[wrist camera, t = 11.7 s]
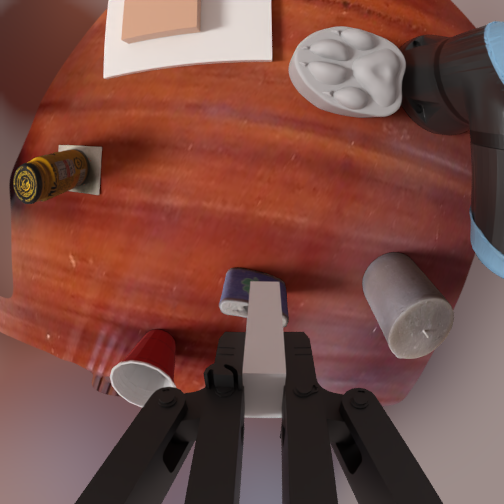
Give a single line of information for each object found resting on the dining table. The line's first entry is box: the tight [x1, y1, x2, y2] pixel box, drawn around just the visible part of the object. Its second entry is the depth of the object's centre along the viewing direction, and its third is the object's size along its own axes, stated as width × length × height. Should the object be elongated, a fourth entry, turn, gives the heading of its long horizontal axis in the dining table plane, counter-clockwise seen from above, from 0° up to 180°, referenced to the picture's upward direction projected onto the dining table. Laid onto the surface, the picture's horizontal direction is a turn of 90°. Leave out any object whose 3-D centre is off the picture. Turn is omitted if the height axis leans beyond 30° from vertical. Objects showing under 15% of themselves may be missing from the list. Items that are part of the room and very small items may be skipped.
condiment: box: [14, 145, 102, 204], centre depth 34 cm, size 7×8×12 cm
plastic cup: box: [110, 329, 176, 407], centre depth 46 cm, size 11×11×12 cm
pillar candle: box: [362, 252, 454, 359], centre depth 38 cm, size 10×10×15 cm
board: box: [104, 0, 272, 79], centre depth 30 cm, size 23×17×1 cm
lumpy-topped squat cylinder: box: [289, 26, 406, 118], centre depth 30 cm, size 10×13×9 cm
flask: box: [219, 268, 289, 327], centre depth 41 cm, size 9×3×11 cm, turn 73°
